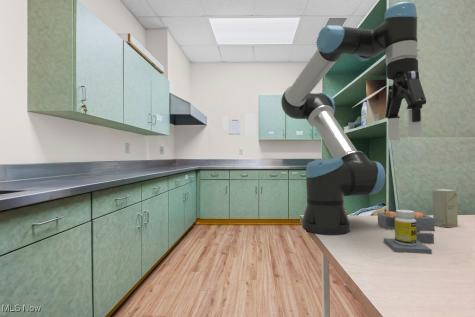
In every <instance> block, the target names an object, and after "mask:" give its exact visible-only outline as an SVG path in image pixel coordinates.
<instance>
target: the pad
mask: <svg viewBox="0 0 475 317" xmlns="http://www.w3.org/2000/svg"><path fill="white" fill-rule="evenodd" d="M383 243H384V244H385V245H387V246H388V247H389V248H390V249H391V250H392V251H394V252H395V253H407V254H409V253H412V254H413V253H414V254H427V255H429V254H430V255H432V254H433V251H432V250H433V249H432V248H430V247H428V246H427V245H426V244H425V243H421V242H419V241H418V240H417V244H416V245H415V246H406V245H401V244H398V243H396V242H395V238H389V237H388V238H386V237H384V238H383Z"/></svg>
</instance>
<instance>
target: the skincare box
mask: <svg viewBox="0 0 475 317" xmlns="http://www.w3.org/2000/svg"><path fill="white" fill-rule="evenodd" d="M431 193H432V216H433V217H432V218H434V226H435V227H436V226H437V227H442V228H452V227H458V226H459V222H458V200H457V199H458V198H457V190H456V189H448V188H447V189H445V188H443V189H441V188H439V189H432V191H431Z"/></svg>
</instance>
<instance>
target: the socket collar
mask: <svg viewBox="0 0 475 317" xmlns="http://www.w3.org/2000/svg"><path fill="white" fill-rule="evenodd" d="M420 231H421V230H420V227H419V226H416V234H417V240H418V241H419V242H421V243H422V244H431V245H432V244H433V245H434V244H435V234H434V233H432V232H420Z"/></svg>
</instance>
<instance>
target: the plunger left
mask: <svg viewBox="0 0 475 317" xmlns="http://www.w3.org/2000/svg"><path fill="white" fill-rule="evenodd" d="M385 212H386V216H396V211H387V210H386V211H385Z"/></svg>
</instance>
